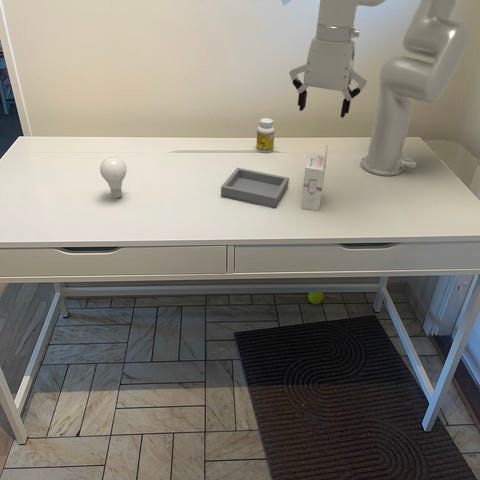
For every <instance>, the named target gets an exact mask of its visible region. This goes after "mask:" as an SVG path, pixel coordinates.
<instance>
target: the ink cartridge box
mask: <svg viewBox="0 0 480 480" xmlns="http://www.w3.org/2000/svg"><path fill="white" fill-rule="evenodd" d="M327 158H328V145H326V148H325V153H324V154H314V153H308V154H307V156H306V162H305V166H304V174H303V175H304V176H303V185H302V186H303V187H302V196H301V204H300V209H303V210H309V211H310V210H311V211H320V207H321V201H322V194H323V186H324V181H325V174H326V166H327Z"/></svg>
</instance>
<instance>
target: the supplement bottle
mask: <svg viewBox="0 0 480 480" xmlns="http://www.w3.org/2000/svg"><path fill="white" fill-rule="evenodd" d="M273 123H274V120H273V119H272V118H268V117H267V118H266V117H263V118H261V119H260V120H259V125H258V127H257V129H256V151H257V152H259V153H264V154H268V153H271V152H273V151H274V147H275V146H274V142H275V131H276V130H275V127H274V126H273V125H274V124H273Z"/></svg>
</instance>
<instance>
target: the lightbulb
mask: <svg viewBox="0 0 480 480" xmlns="http://www.w3.org/2000/svg"><path fill="white" fill-rule="evenodd" d="M127 171H128V169H127V166H126V164H125V162H124V161H123V160H122V159H120V158H119V157H116V156H110V157H107V158H105V159H104V160H103V161H102V162H101V163H100V167H99V172H100V175H101V177H102V178H103V179H104V180H105V182H106V183H107V185H108V186H109V187H108V188H110V195H111V197H112V198H114V199H118V198H121V197H122V196H123V192H122V186H123V181H124V179H125V178H126V175H127Z"/></svg>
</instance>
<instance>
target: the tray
mask: <svg viewBox="0 0 480 480" xmlns="http://www.w3.org/2000/svg"><path fill="white" fill-rule="evenodd" d="M289 182H290V177H287V176H282V175H276V174H271V173H266V172H261V171H257V170H250V169H245V168H242V167H237V168H235V169H234V171H233V172H232V173H231V174H230V175H229V177H228V178H227V179H226V180H225V182H224V183H223V184H222V185H221V186H220V197H221V198H224V199H229V200H234V201H239V202H243V203H249V204H252V205H258V206H262V207H267V208H269V209H270V208H271V209H277V207H278V205H279V204H280V202H281V201H282V199H283V197H284V195H285V194H286V192H287V190H288V189H289Z"/></svg>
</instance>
